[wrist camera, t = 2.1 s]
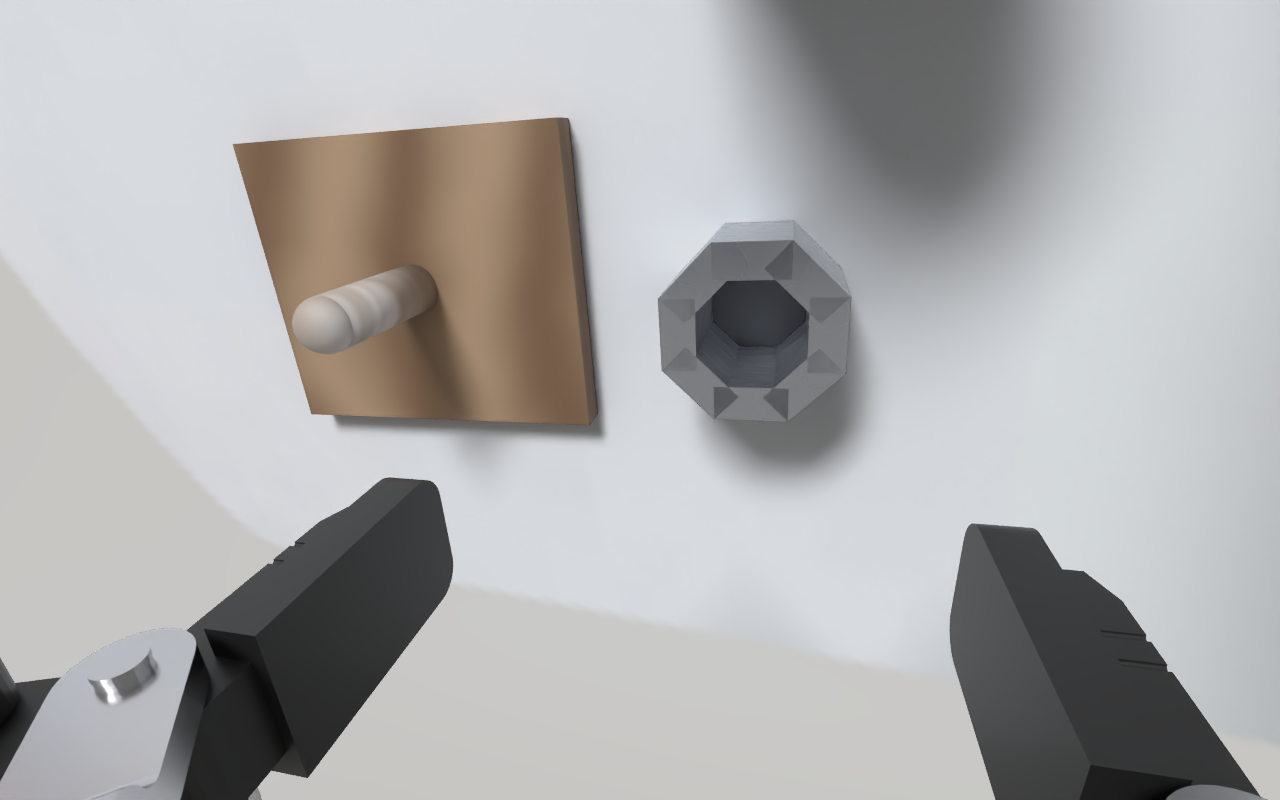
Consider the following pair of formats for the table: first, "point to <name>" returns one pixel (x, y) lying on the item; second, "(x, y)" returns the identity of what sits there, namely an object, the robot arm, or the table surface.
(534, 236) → the post stand
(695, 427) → the table surface
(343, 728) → the robot arm
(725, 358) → the ring
